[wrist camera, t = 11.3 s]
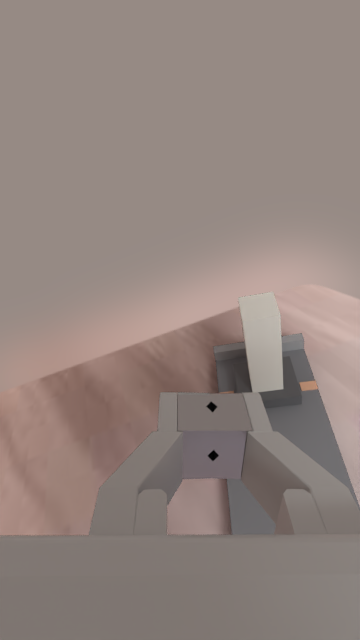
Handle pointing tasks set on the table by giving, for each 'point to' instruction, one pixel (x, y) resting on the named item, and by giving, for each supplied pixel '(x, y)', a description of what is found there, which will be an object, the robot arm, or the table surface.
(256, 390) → the fader
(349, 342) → the table surface
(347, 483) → the track board
